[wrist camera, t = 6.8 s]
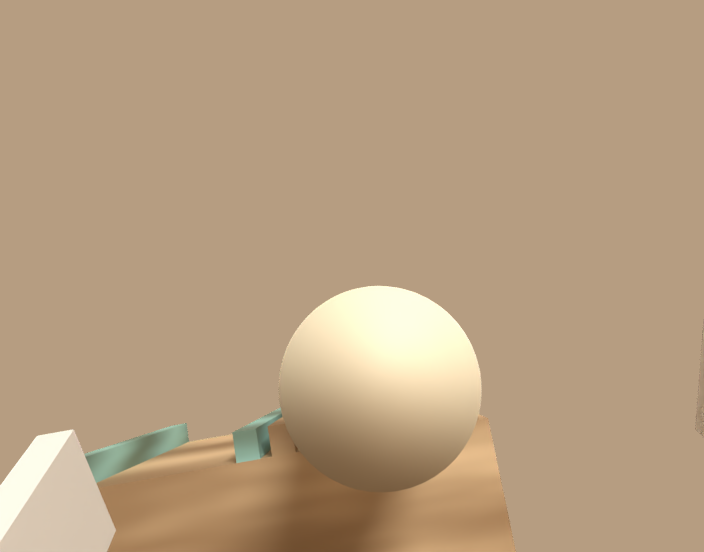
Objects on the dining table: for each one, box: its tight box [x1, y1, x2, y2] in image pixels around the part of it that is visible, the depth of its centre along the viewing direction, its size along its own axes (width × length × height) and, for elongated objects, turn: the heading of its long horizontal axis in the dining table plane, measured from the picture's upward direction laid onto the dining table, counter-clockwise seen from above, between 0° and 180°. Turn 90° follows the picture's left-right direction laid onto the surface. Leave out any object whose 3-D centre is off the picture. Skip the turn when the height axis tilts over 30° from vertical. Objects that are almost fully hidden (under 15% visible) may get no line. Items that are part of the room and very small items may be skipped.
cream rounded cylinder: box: [279, 286, 481, 493], centre depth 20 cm, size 18×4×4 cm, turn 179°
